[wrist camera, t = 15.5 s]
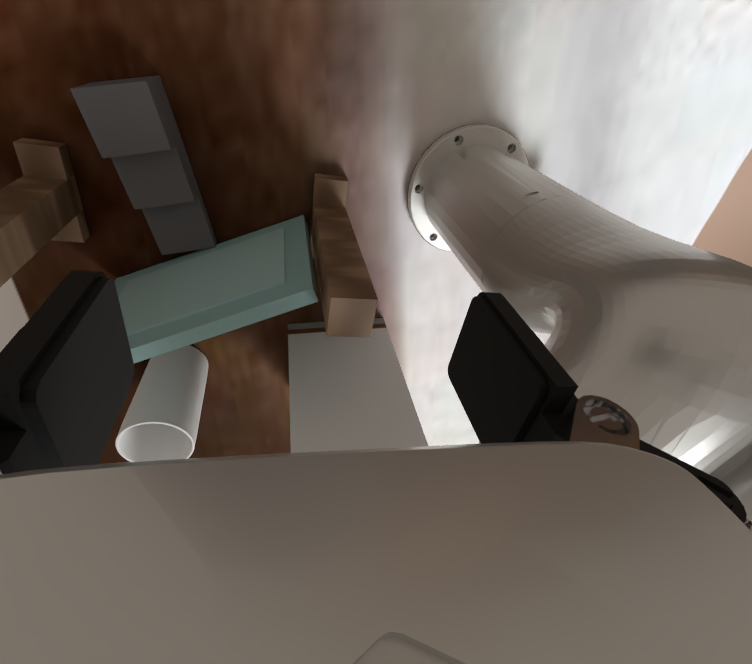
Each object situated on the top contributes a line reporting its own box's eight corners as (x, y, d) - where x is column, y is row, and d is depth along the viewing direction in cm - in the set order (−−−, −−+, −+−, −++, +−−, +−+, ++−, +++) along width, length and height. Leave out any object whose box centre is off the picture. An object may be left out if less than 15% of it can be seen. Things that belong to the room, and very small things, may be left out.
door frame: (346, 176, 38) (384, 264, 24) (337, 253, 43) (364, 364, 29) (22, 137, 32) (-181, 226, 18) (52, 233, 36) (-91, 363, 22)
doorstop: (160, 74, 31) (146, 80, 28) (217, 240, 40) (211, 261, 37) (93, 81, 31) (69, 88, 27) (165, 248, 40) (154, 270, 36)
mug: (157, 333, 45) (124, 415, 35) (218, 350, 48) (203, 430, 38) (135, 394, 49) (101, 481, 40) (193, 406, 52) (174, 490, 43)
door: (302, 212, 39) (311, 285, 28) (308, 225, 40) (318, 301, 29) (115, 276, 39) (52, 373, 28) (124, 288, 40) (66, 386, 29)
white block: (293, 389, 53) (308, 770, 26) (287, 323, 47) (298, 737, 20) (378, 381, 56) (473, 726, 28) (383, 317, 49) (512, 684, 22)
